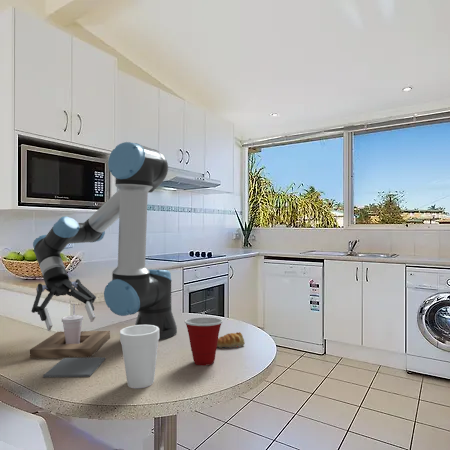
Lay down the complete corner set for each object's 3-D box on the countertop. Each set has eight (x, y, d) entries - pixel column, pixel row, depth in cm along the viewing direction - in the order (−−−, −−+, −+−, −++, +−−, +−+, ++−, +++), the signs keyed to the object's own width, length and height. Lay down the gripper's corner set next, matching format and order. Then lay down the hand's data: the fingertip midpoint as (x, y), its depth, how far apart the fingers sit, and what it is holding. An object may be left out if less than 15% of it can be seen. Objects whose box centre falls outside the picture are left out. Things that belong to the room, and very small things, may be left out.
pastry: (218, 351, 111) (218, 338, 111) (211, 344, 117) (211, 332, 117) (246, 346, 114) (246, 334, 115) (237, 340, 121) (237, 329, 121)
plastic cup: (227, 356, 106) (227, 315, 106) (217, 370, 95) (217, 325, 95) (192, 353, 109) (191, 313, 109) (179, 367, 98) (178, 323, 98)
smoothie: (75, 351, 112) (75, 306, 112) (57, 350, 113) (56, 305, 113) (87, 344, 118) (86, 301, 118) (70, 343, 120) (69, 301, 120)
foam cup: (166, 377, 92) (166, 326, 92) (147, 393, 83) (146, 337, 83) (134, 373, 95) (133, 323, 95) (112, 388, 86) (111, 333, 86)
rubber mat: (105, 359, 105) (105, 357, 105) (89, 376, 93) (89, 374, 93) (63, 360, 105) (63, 357, 105) (43, 377, 93) (43, 375, 93)
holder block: (109, 338, 125) (109, 330, 125) (90, 357, 107) (90, 348, 107) (57, 338, 125) (57, 331, 125) (29, 358, 107) (29, 349, 107)
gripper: (86, 275, 137) (105, 322, 126) (12, 284, 119) (27, 339, 108) (92, 262, 133) (112, 309, 122) (16, 269, 115) (32, 324, 105)
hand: (72, 323), depth 115 cm, fingers open, 13 cm apart
